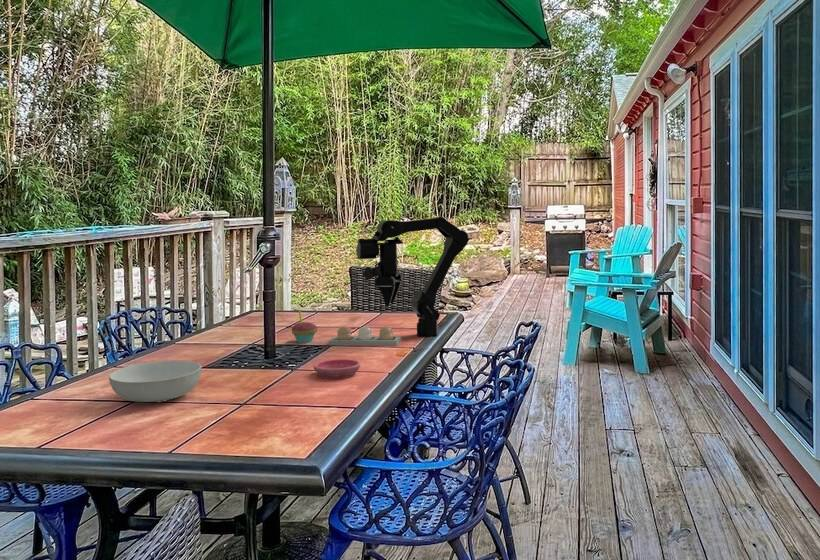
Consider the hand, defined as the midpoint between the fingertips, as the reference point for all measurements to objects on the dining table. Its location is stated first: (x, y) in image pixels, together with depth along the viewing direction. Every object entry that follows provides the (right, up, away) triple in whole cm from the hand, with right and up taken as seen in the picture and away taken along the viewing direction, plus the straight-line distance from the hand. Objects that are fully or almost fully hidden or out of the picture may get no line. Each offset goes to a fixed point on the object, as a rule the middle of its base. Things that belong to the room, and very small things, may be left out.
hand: (389, 304), depth 228 cm
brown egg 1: (-15, -12, -5) cm, 20 cm away
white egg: (-8, -12, -6) cm, 16 cm away
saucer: (-13, -18, -45) cm, 50 cm away
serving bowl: (-54, -20, -64) cm, 86 cm away
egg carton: (-8, -13, -6) cm, 16 cm away
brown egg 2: (-1, -12, -7) cm, 14 cm away
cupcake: (-28, -13, 0) cm, 31 cm away
